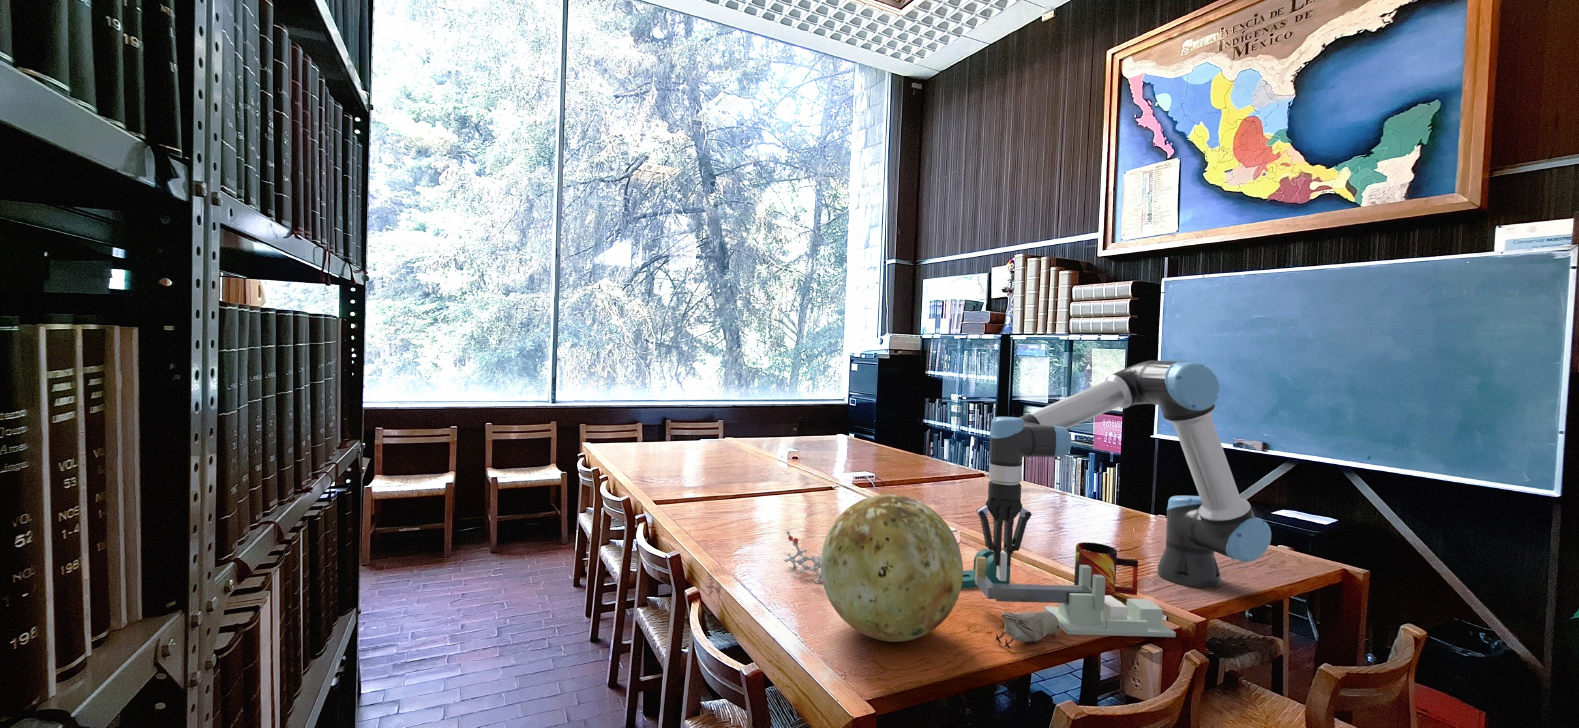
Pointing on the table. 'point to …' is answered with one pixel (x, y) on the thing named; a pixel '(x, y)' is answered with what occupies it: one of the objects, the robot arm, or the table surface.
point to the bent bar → (1023, 589)
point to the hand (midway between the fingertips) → (1001, 578)
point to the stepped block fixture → (1086, 609)
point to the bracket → (990, 571)
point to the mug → (1104, 566)
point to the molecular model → (804, 558)
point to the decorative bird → (1029, 626)
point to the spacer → (1113, 609)
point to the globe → (891, 568)
